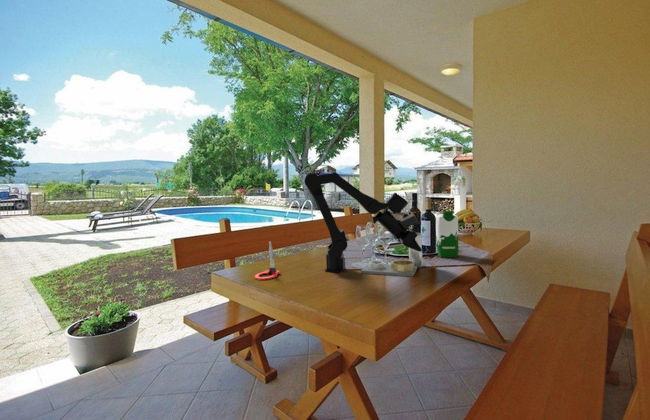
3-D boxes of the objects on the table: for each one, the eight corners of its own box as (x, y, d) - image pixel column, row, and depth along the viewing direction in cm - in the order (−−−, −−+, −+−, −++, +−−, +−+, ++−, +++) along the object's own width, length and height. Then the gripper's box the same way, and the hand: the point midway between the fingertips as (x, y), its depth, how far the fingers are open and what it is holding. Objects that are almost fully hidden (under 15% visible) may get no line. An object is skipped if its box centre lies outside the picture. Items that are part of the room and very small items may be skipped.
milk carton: (439, 258, 140) (438, 211, 138) (435, 253, 149) (434, 210, 147) (460, 257, 139) (460, 211, 137) (455, 253, 148) (454, 209, 146)
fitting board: (361, 273, 122) (360, 270, 122) (368, 265, 132) (368, 263, 132) (413, 276, 115) (412, 273, 115) (416, 268, 125) (416, 266, 125)
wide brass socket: (389, 271, 119) (389, 264, 119) (393, 265, 127) (393, 259, 127) (412, 272, 116) (412, 265, 116) (415, 267, 124) (415, 260, 123)
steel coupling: (408, 267, 128) (407, 234, 126) (410, 264, 132) (409, 232, 131) (421, 268, 126) (420, 234, 125) (422, 264, 130) (422, 232, 129)
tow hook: (268, 282, 117) (283, 274, 125) (264, 247, 115) (280, 241, 123) (250, 280, 121) (265, 272, 129) (246, 246, 119) (262, 240, 127)
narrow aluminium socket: (367, 268, 124) (367, 263, 124) (371, 265, 129) (370, 260, 129) (381, 269, 122) (381, 264, 121) (385, 266, 127) (384, 261, 127)
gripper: (411, 209, 118) (441, 238, 119) (398, 206, 136) (425, 231, 137) (390, 232, 118) (420, 260, 119) (380, 225, 137) (406, 250, 138)
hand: (418, 249), depth 128 cm, fingers closed on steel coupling, 5 cm apart
